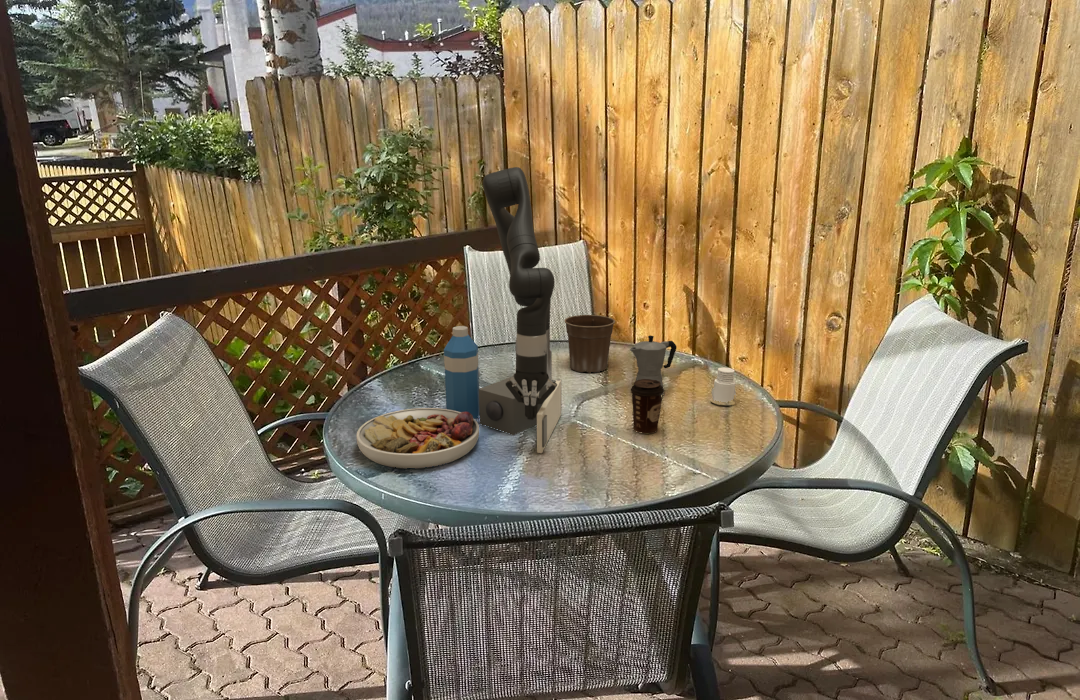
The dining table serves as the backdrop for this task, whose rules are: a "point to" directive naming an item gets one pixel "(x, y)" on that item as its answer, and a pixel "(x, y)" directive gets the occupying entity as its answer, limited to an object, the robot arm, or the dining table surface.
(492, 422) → the grey button box
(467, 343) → the water bottle
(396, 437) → the bowl
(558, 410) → the case door
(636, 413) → the coffee cup
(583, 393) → the dining table surface
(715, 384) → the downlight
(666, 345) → the coffeepot
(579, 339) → the plant pot
